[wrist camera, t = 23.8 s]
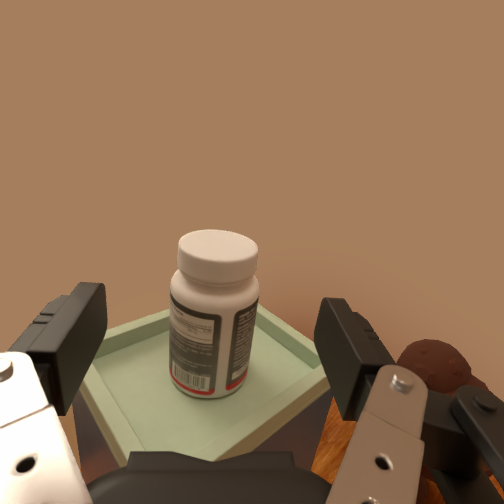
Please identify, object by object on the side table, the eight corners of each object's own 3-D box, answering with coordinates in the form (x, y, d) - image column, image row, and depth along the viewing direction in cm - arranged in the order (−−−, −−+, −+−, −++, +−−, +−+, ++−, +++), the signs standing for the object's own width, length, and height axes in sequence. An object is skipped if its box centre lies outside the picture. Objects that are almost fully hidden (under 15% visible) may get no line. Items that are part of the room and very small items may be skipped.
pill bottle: (232, 338, 23) (246, 225, 19) (259, 390, 19) (282, 260, 16) (162, 349, 21) (164, 226, 18) (176, 410, 17) (182, 267, 14)
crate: (153, 686, 19) (152, 531, 13) (88, 521, 26) (66, 366, 19) (293, 525, 27) (337, 382, 21) (216, 432, 34) (231, 302, 28)
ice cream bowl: (321, 478, 31) (362, 355, 25) (369, 410, 39) (409, 304, 33) (441, 582, 25) (533, 453, 19) (469, 477, 33) (540, 362, 27)
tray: (152, 531, 13) (152, 507, 12) (66, 366, 19) (63, 344, 19) (337, 382, 21) (343, 363, 20) (231, 302, 28) (233, 286, 27)
